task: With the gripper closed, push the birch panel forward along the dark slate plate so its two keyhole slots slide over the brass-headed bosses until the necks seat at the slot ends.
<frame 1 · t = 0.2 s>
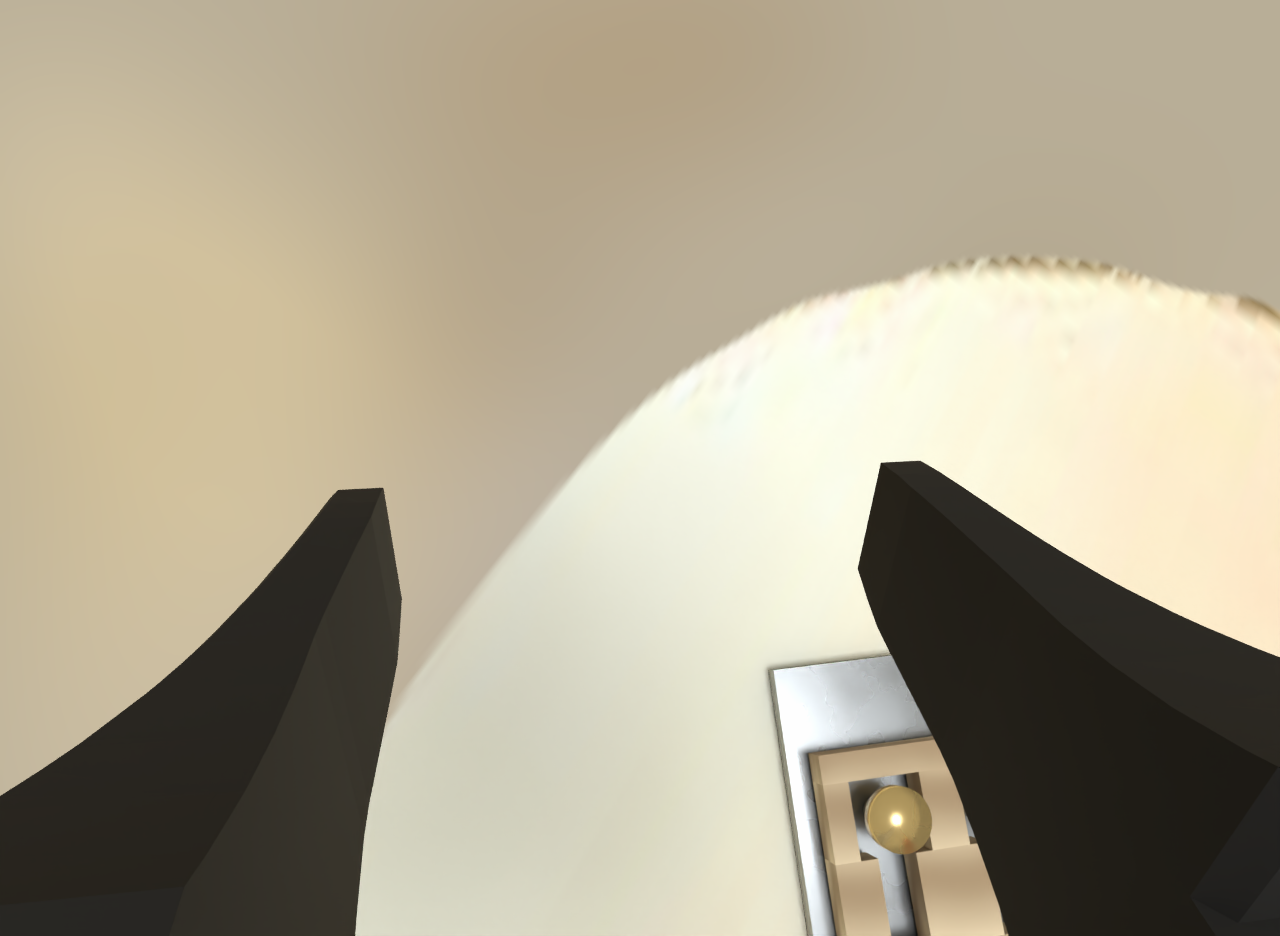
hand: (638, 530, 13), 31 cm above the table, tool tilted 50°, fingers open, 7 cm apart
keyhole plate: (930, 865, 42), on the table
panel: (949, 874, 40), point 2 cm above the table, slide at 0.0 cm
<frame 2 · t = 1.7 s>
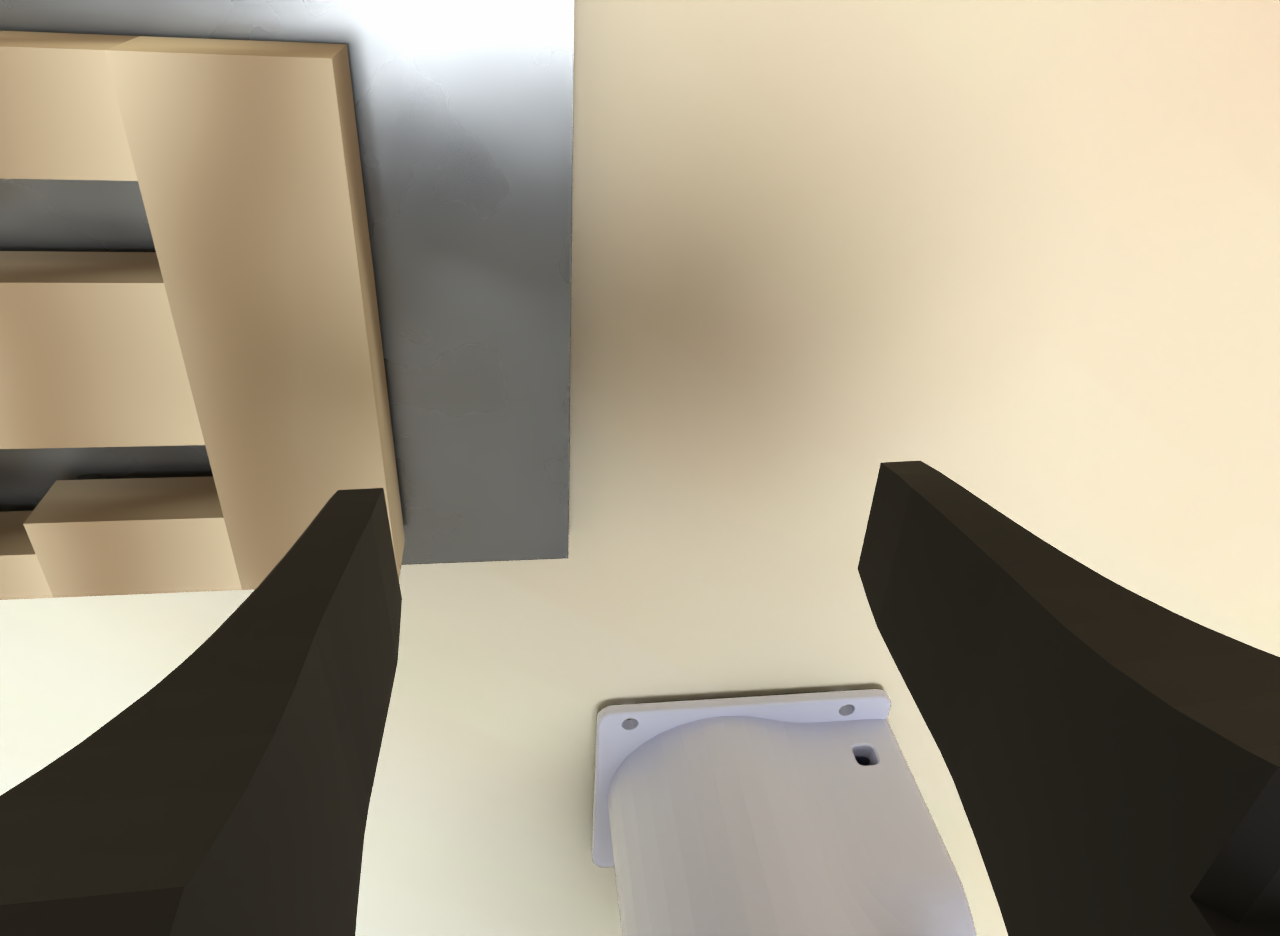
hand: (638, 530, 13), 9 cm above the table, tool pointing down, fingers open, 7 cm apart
keyhole plate: (97, 308, 19), on the table
panel: (55, 351, 17), point 2 cm above the table, slide at 0.0 cm
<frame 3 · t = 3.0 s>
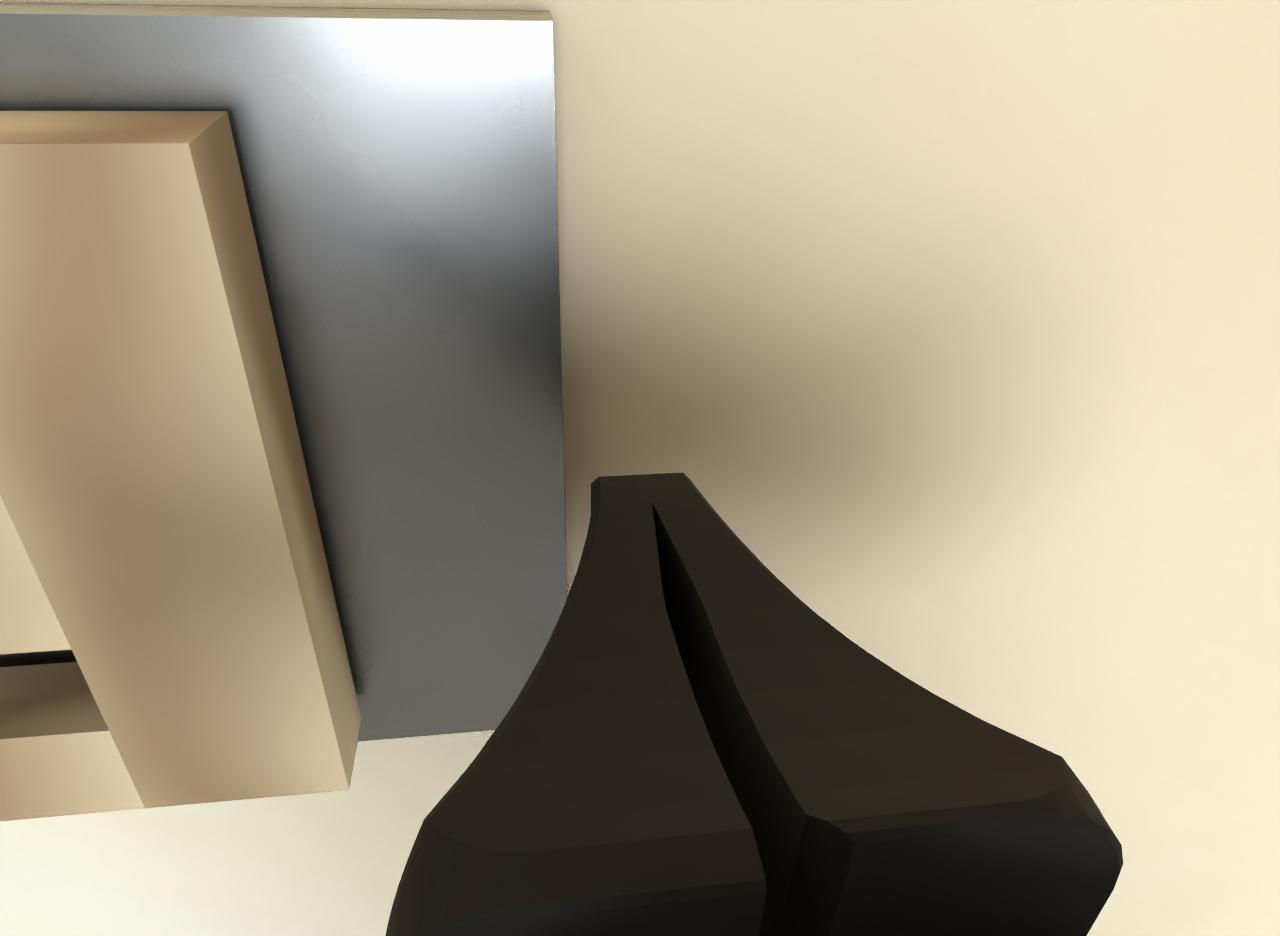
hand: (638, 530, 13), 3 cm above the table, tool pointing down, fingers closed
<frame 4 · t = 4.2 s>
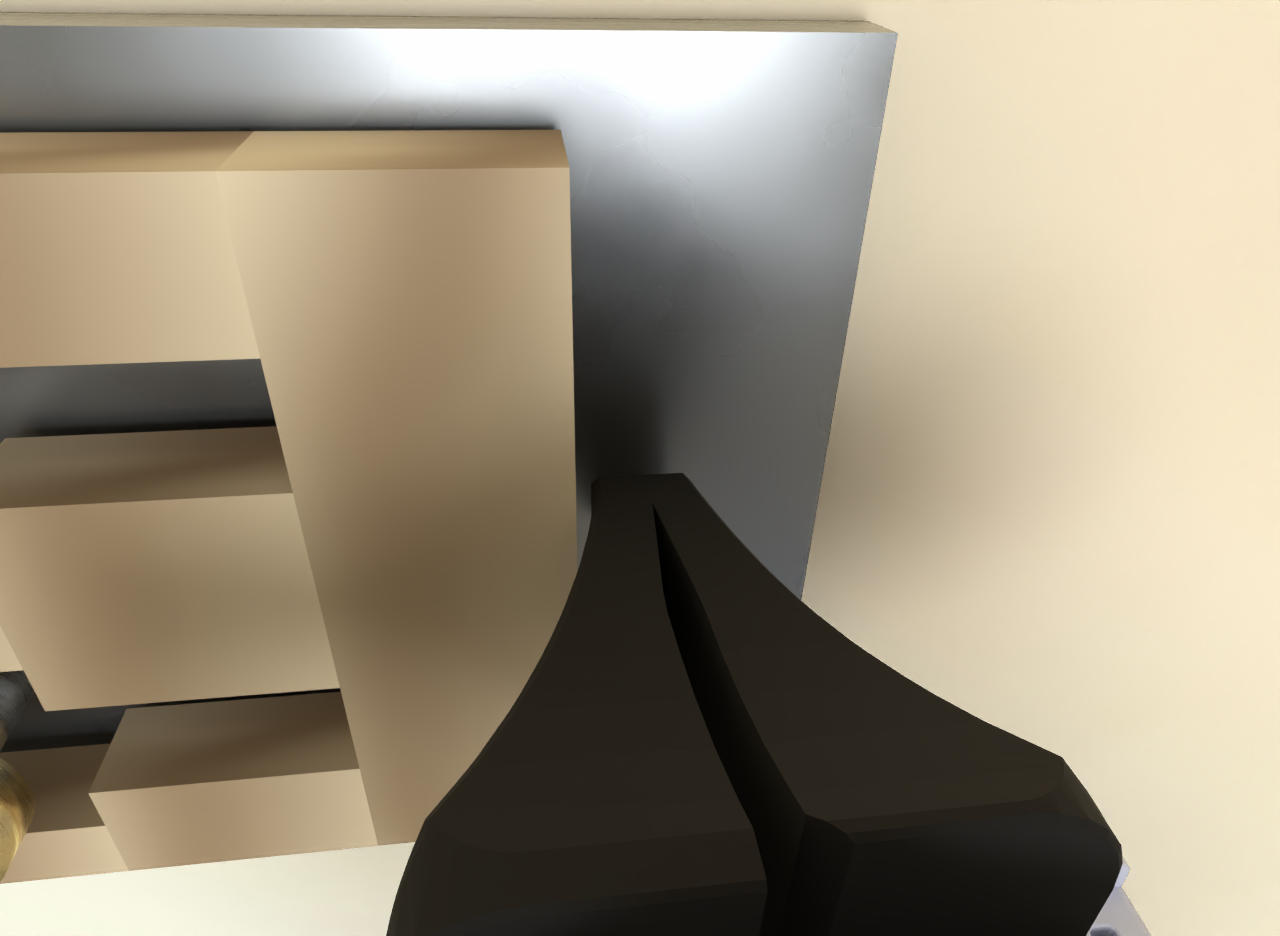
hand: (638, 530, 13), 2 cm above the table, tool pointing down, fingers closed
keyhole plate: (176, 483, 14), on the table
panel: (129, 571, 12), point 2 cm above the table, slide at 0.0 cm, touching gripper
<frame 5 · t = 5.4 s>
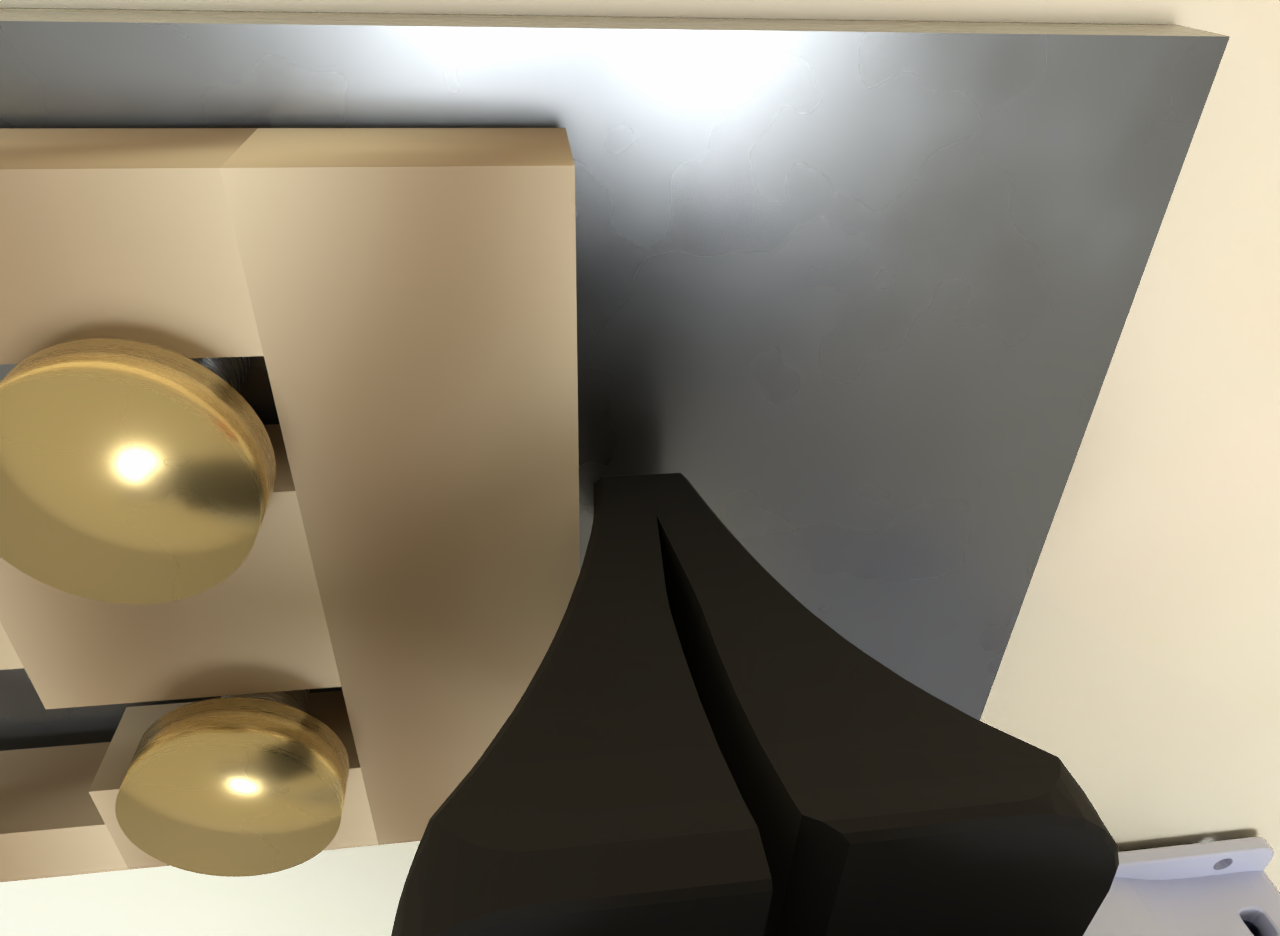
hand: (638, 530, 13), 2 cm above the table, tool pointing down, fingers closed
keyhole plate: (456, 467, 14), on the table
panel: (130, 569, 12), point 2 cm above the table, slide at 4.2 cm, touching gripper
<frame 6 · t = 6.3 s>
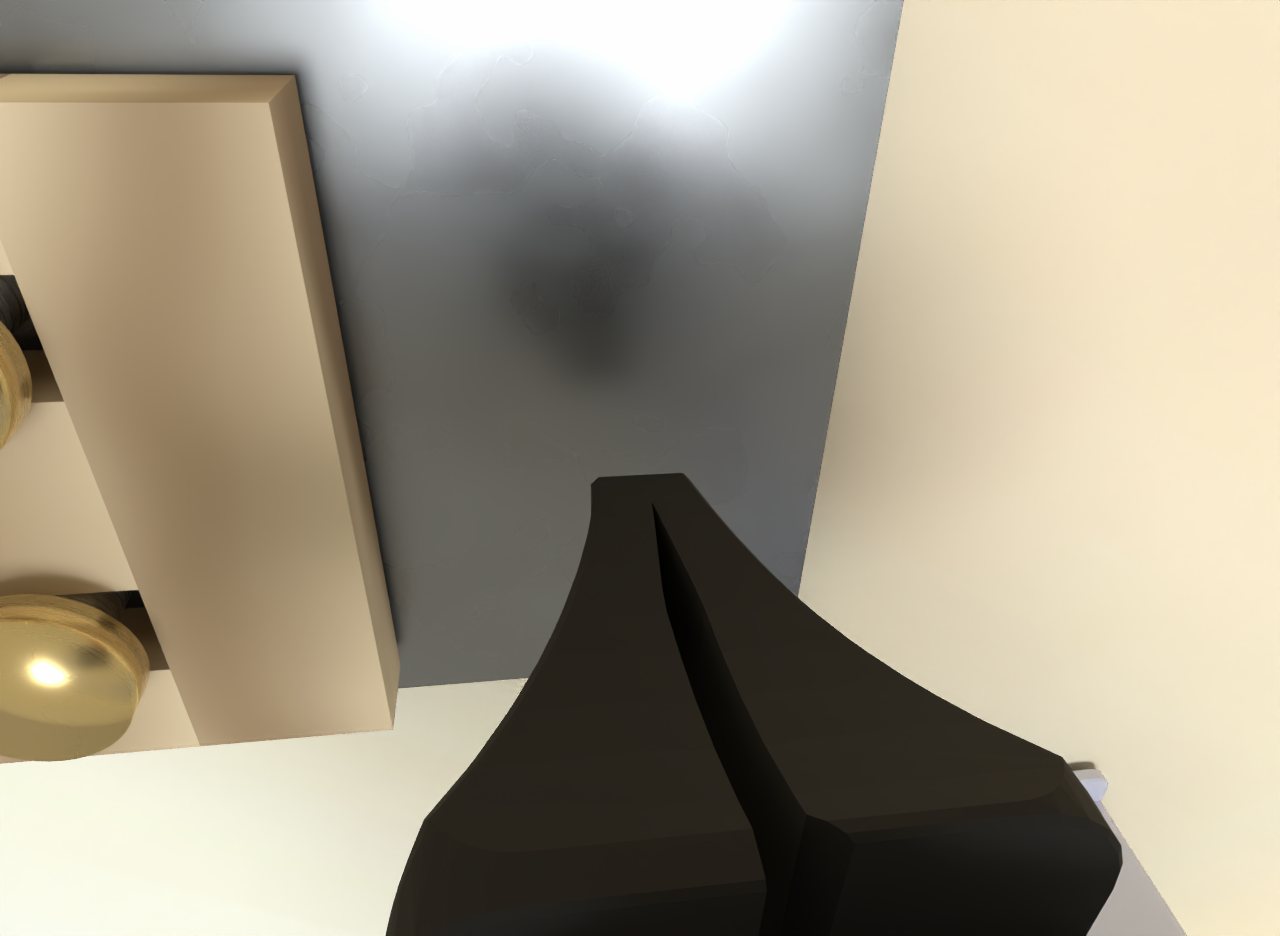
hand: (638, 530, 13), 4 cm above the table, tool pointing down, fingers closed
keyhole plate: (264, 398, 15), on the table
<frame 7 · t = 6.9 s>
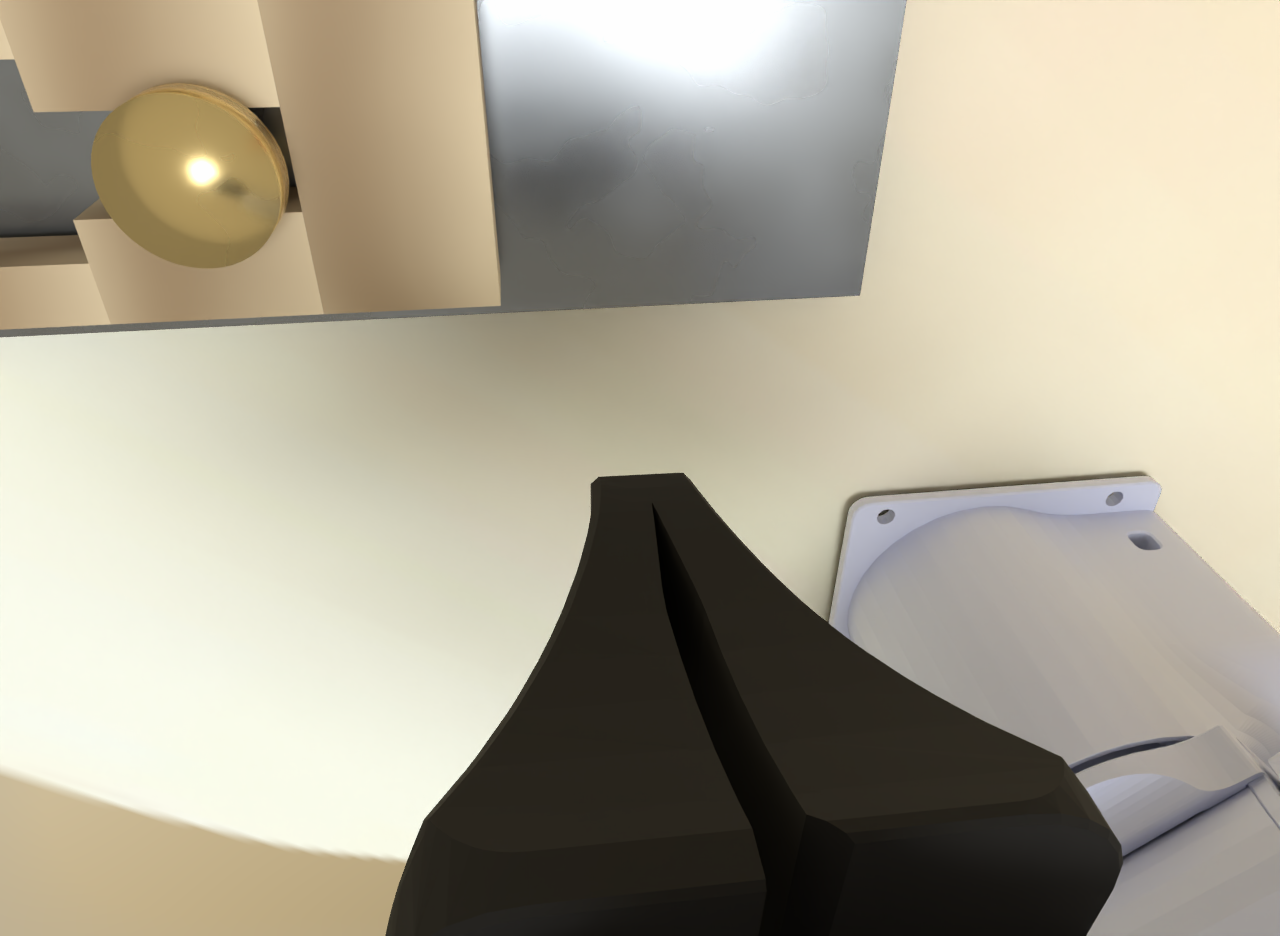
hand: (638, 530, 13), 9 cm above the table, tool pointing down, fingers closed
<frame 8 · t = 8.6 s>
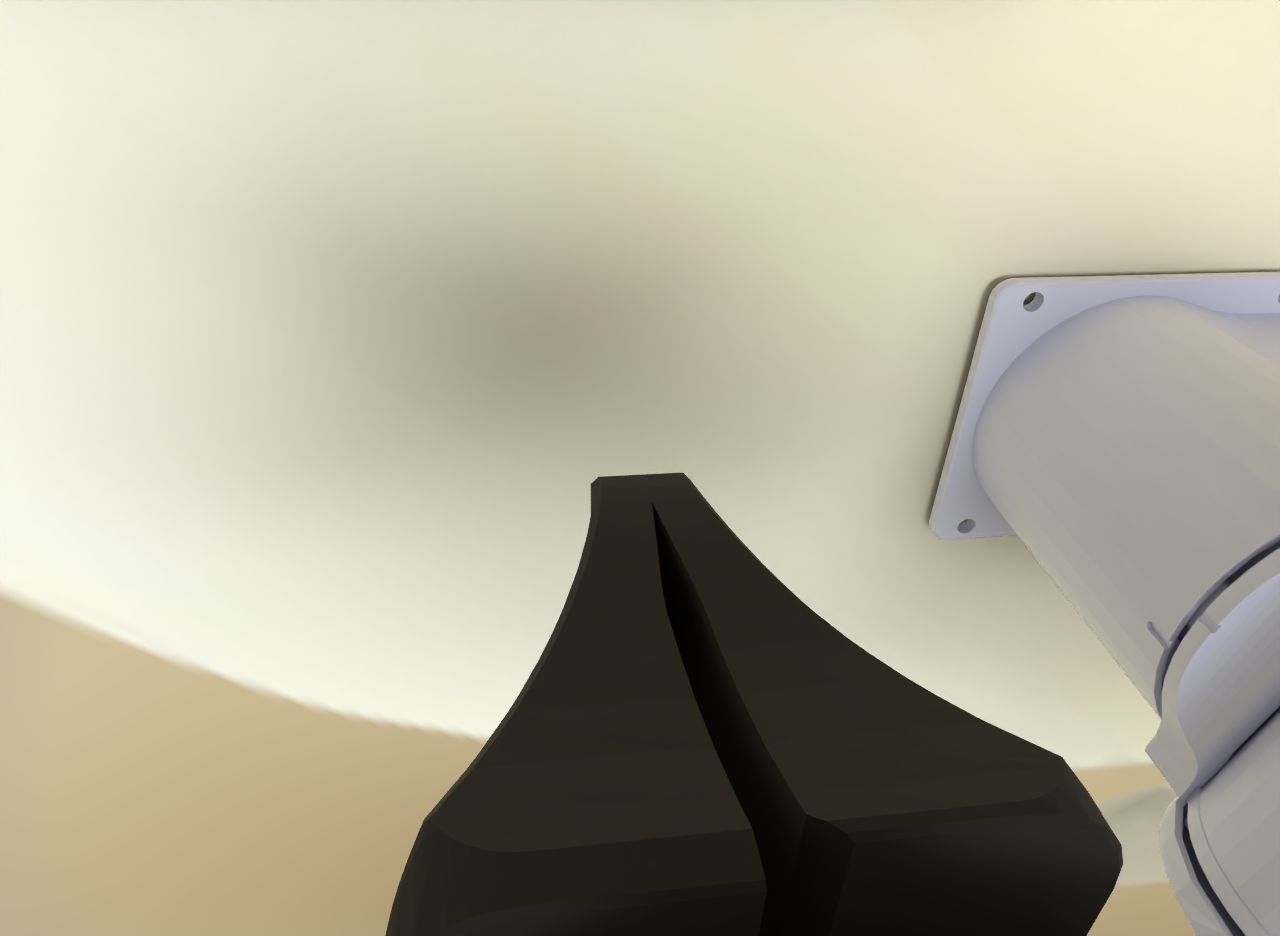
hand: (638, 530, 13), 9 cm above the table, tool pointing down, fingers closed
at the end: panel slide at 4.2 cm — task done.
